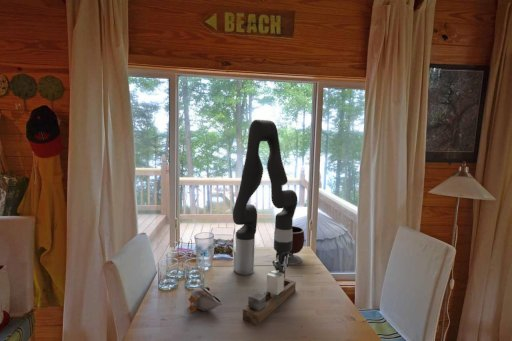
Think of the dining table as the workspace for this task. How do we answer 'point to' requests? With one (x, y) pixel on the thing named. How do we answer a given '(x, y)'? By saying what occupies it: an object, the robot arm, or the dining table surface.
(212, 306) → the decorative duck model
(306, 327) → the dining table surface
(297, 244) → the mate gourd
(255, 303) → the beam
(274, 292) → the block
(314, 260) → the dining table surface
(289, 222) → the robot arm
